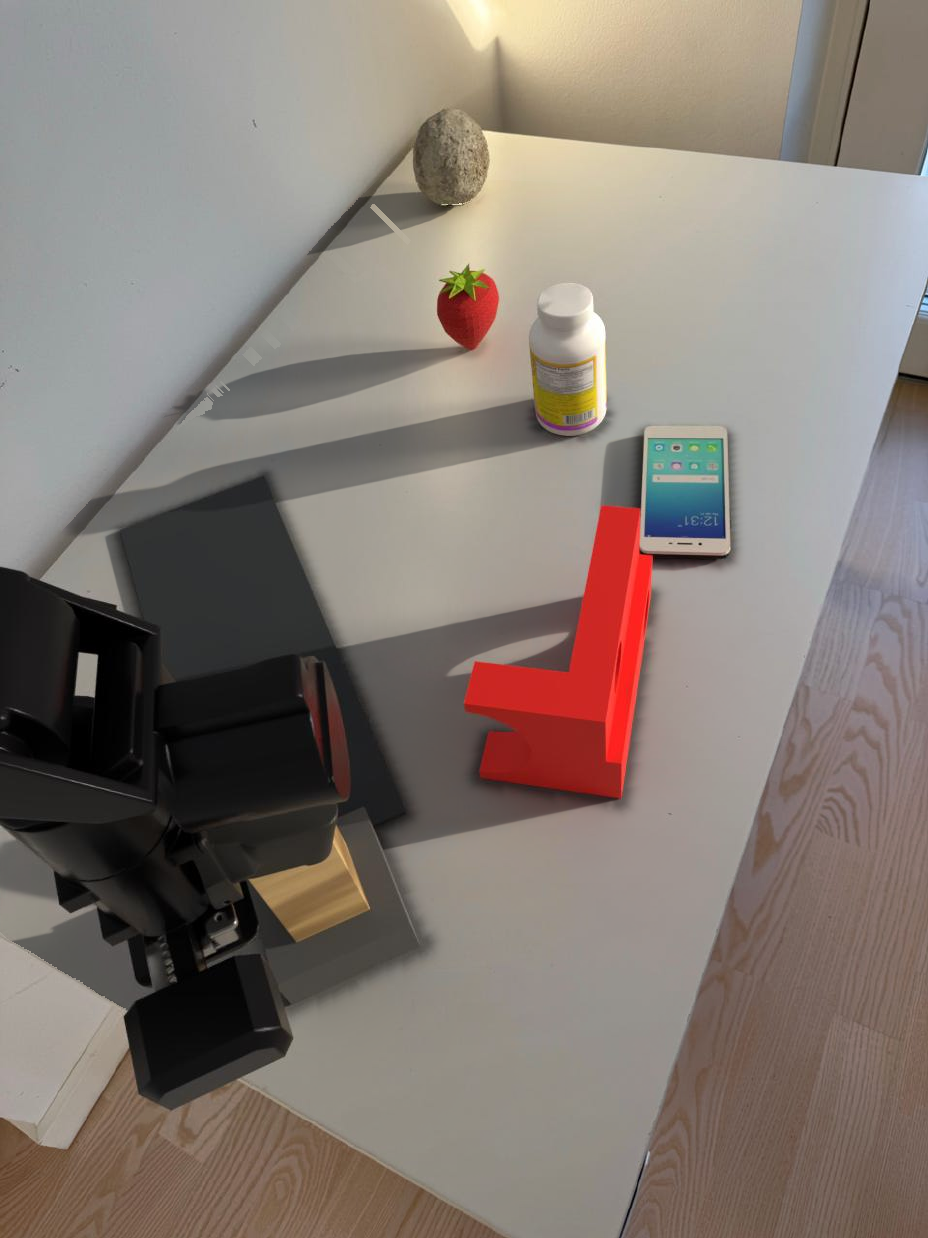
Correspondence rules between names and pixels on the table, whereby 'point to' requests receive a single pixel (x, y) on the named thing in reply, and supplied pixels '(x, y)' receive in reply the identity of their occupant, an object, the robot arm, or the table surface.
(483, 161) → the decorative stone
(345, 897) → the maple block
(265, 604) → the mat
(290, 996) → the stand
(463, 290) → the strawberry
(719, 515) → the smartphone
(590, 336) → the supplement bottle
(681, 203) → the table surface
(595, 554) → the bracket
